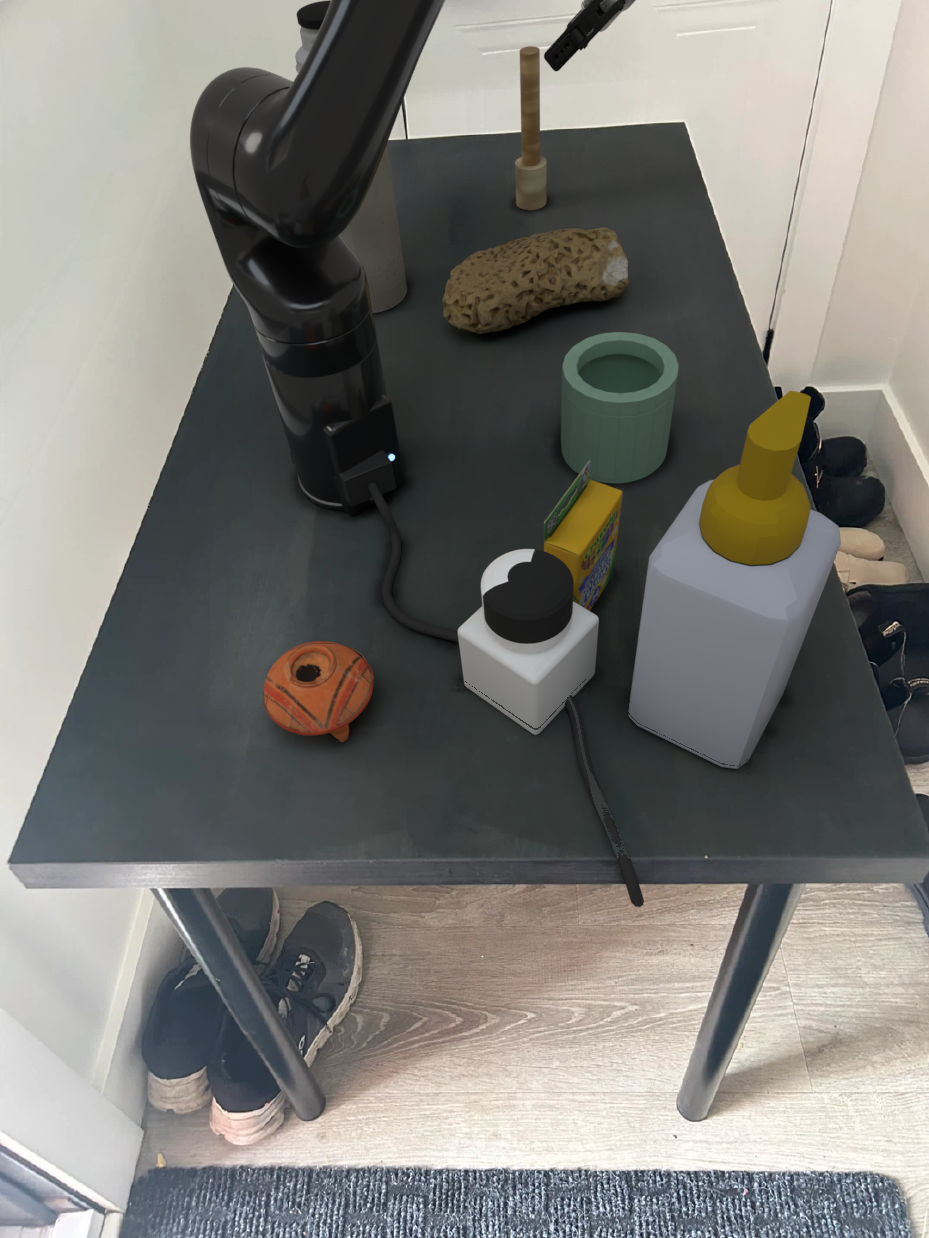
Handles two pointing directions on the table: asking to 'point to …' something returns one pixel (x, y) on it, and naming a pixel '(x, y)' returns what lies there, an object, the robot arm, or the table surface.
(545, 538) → the crayon box
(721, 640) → the soap bottle
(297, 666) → the pot
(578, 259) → the sponge
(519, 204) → the wooden peg on base
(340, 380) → the robot arm
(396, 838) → the table surface
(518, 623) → the medicine bottle
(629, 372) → the jar
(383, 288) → the thermos bottle
